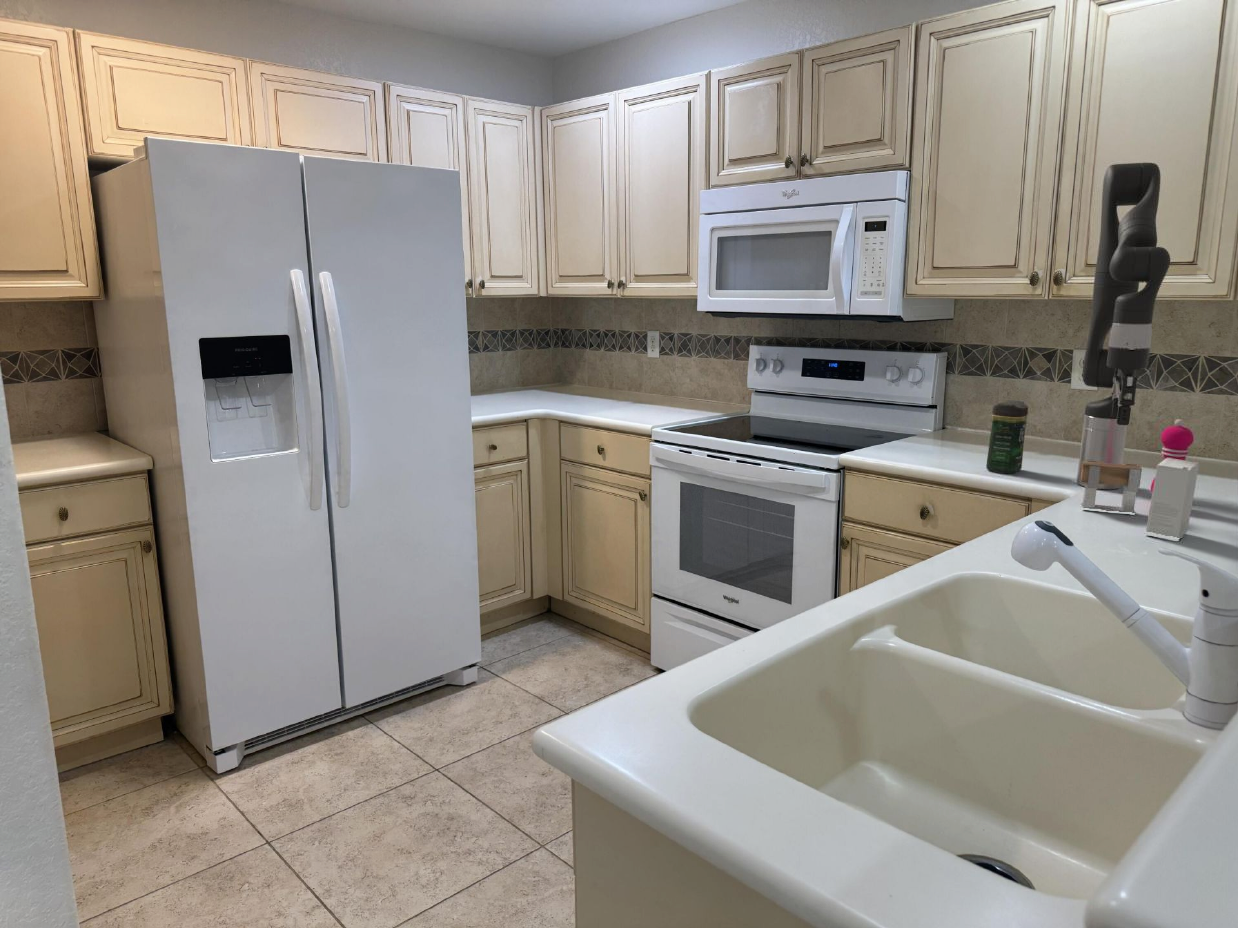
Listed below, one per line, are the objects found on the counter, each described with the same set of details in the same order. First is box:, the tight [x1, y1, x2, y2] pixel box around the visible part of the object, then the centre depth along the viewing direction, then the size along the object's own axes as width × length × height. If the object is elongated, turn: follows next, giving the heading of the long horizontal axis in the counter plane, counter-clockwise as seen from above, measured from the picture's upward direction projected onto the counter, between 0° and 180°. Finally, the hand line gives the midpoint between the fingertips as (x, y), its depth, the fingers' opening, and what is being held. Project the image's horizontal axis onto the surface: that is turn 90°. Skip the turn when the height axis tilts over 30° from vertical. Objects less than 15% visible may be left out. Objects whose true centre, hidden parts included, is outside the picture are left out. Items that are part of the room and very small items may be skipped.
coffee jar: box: [985, 400, 1029, 474], centre depth 226 cm, size 10×8×19 cm
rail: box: [1080, 461, 1143, 487], centre depth 187 cm, size 4×11×4 cm, turn 67°
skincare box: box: [1145, 458, 1200, 538], centre depth 169 cm, size 8×6×15 cm
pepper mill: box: [1150, 418, 1195, 493], centre depth 189 cm, size 7×7×20 cm
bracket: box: [1080, 460, 1142, 514], centre depth 187 cm, size 7×10×10 cm
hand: (1119, 421), depth 184 cm, fingers open, 8 cm apart
